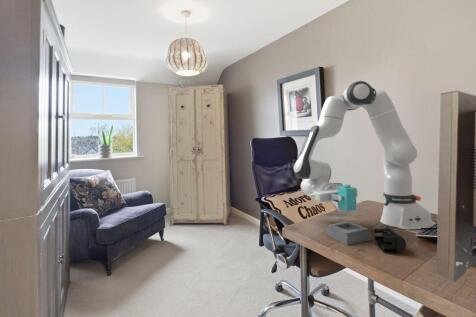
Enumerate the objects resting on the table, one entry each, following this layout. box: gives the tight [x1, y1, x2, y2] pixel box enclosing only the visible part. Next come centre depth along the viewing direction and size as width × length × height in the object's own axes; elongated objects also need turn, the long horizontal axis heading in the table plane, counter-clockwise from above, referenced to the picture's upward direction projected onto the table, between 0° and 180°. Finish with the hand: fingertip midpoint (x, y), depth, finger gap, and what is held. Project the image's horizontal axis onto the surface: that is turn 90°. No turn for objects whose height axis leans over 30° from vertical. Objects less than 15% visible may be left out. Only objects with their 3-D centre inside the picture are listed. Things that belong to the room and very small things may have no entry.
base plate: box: [325, 220, 372, 246], centre depth 108 cm, size 12×12×4 cm
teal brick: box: [337, 184, 357, 212], centre depth 107 cm, size 5×5×10 cm
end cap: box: [374, 226, 407, 255], centre depth 96 cm, size 10×7×7 cm
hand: (348, 197), depth 106 cm, fingers closed on teal brick, 5 cm apart
